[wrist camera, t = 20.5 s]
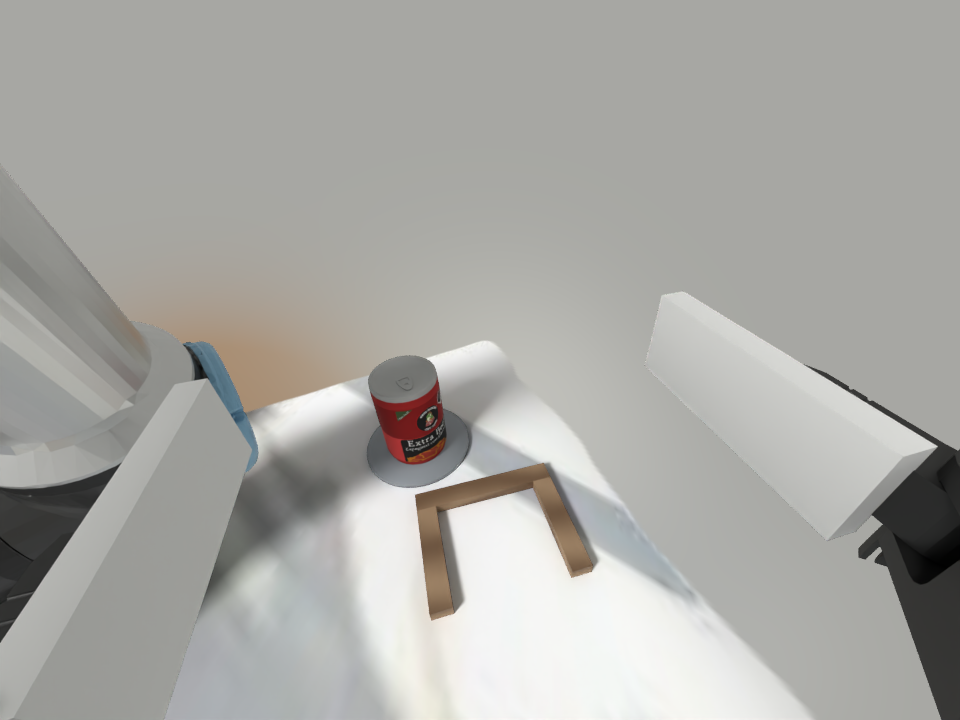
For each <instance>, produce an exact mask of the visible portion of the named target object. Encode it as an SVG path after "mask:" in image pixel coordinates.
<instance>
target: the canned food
mask: <svg viewBox="0 0 960 720" xmlns="http://www.w3.org/2000/svg"><path fill="white" fill-rule="evenodd" d="M368 384H369V389H370V393H371V397H372V400H373V403H374V406H375V409H376V413H377V416H378V419H379V422H380V425H381V428H382V432H383V435H384V438H385V441H386V444H387V447H388V450H389V452H390V453H391V454H392V455H393V457H394V458H396V459H397V460H398V461H400V462H402V463H405V464H411V465H416V464H422V463H425V462H428V461H430V460H432V459H434V458H435V457H436V456H438V455H439V454H440V452H441V451H442V450H443V448H444V445H445V442H446V438H447V432H446V426H445V420H444V414H443V407H442V401H441V395H440V388H439V382H438V377H437V372H436V369H435V367H434V365H433V364H432V363H431V362H430V361H429V360H427V359H425V358H422V357H419V356H410V355H409V356H399V357H395V358H392V359H389V360H386V361H384V362H383V363H381V364H379V365H378V366H377V367H376V368H375V369H374V370H373V371H372V372H371V374H370V376H369V379H368Z"/></svg>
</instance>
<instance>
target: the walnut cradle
mask: <svg viewBox="0 0 960 720" xmlns="http://www.w3.org/2000/svg"><path fill="white" fill-rule="evenodd" d="M530 488H533V489H534V491H535V493H536V496H537V498H538V500H539V503H540V505H541V507H542V510H543V512H544V514H545V517H546V519H547V521H548V524H549V526H550V528H551V531H552V533H553V536H554V538H555V540H556V543H557V545H558V547H559V550H560V552H561V554H562V557H563V559H564V561H565V564H566V566H567V568H568V571H569V573H570V575H571V578H572V577H576V576H579V575H582V574H586V573H589V572H592V568H593V564H592V562H591V560H590V558H589V556H588V554H587V552H586V550H585V548H584V546H583V544H582V542H581V539H580V537H579V535H578V533H577V531H576V529H575V527H574V525H573V523H572V521H571V519H570V517H569V515H568V513H567V510H566V508H565V506H564V504H563V502H562V500H561V498H560V496H559V494H558V492H557V490H556V488H555V486H554V484H553V482H552V479H551V477H550V475H549V473H548V471H547V469H546V467H545V465H544V463H541V464H537V465H533V466H529V467H525V468H521V469H517V470H513V471H509V472H505V473H501V474H497V475H493V476H489V477H485V478H481V479H477V480H473V481H469V482H465V483H461V484H457V485H453V486H449V487H445V488H441V489H437V490H433V491H429V492H425V493H421V494H417V495H415V498H416V506H417V515H418V523H419V531H420V539H421V548H422V556H423V564H424V573H425V581H426V589H427V597H428V606H429V614H430V617H431V620H434V619H438V618H441V617H444V616H447V615H451V614H454V609H453V603H452V597H451V591H450V585H449V579H448V574H447V568H446V562H445V556H444V550H443V544H442V538H441V532H440V526H439V520H438V514H437V512H441V511H445V510H449V509H453V508H456V507H460V506H464V505H468V504H472V503H476V502H480V501H483V500H487V499H491V498H495V497H499V496H503V495H507V494H511V493H514V492H518V491H522V490H526V489H530Z"/></svg>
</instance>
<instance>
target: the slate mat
mask: <svg viewBox="0 0 960 720" xmlns="http://www.w3.org/2000/svg"><path fill="white" fill-rule="evenodd" d="M443 414H444V420H445V426H446V432H447V438H446V442H445V445H444V448H443V450H442V451H441V452H440V454H439V455H438V456H436V457H435V458H434V459H432V460H430V461H428V462H425V463H422V464H416V465H411V464H405V463H402V462H400V461H398V460H397V459H396V458H394V457H393V455H392V454H391V453H390V452H389V450H388V447H387V444H386V441H385V438H384V435H383V432H382V428H381V425H380V426H379V427H378V428H377V430H376V431H375V432H374V434H373V435H372V437H371V439H370V441H369V444H368V449H367V458H368V462H369V465H370V467H371V469H372V471H373V472H374V474H375V475H376V476H377V477H378V478H380V479H381V480H382V481H384V482H386V483H388V484H390V485H393V486H398V487H405V488H414V487H421V486H426V485H430V484H432V483H435V482H437V481H439V480H441V479H443V478H445V477H446V476H448V475H449V474H451V473H452V472H453V471H454V470H455V469H456V468H457V467H458V466H459V465H460V464H461V462H462V461H463V459H464V457H465V456H466V453H467V450H468V446H469V437H468V431H467V428H466V426H465V424H464V423H463V421H462V420H461V419H460V418H459V417H458V416H457V415H455V414H454V413H452V412H450V411H448V410H445V409H443Z"/></svg>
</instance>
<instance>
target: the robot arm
mask: <svg viewBox="0 0 960 720" xmlns="http://www.w3.org/2000/svg"><path fill="white" fill-rule="evenodd" d="M645 366H646V367H647V368H648V369H649V370H650V371H651V372H652V373H653V374H654V375H655V376H656V377H657V378H658V379H659V380H660V381H661V382H662V383H663V384H664V385H665V386H666V387H667V388H668V389H669V390H670V391H671V392H673V393H674V394H675V395H676V396H677V397H678V398H679V399H680V400H681V401H682V402H683V403H684V404H685V405H686V406H687V407H688V408H689V409H690V410H691V411H692V412H693V413H694V414H695V415H696V416H697V417H698V418H700V419H701V420H702V421H703V422H704V423H705V424H706V425H707V426H708V427H709V428H710V429H711V430H712V431H713V432H714V433H715V434H716V435H717V436H718V437H719V438H720V439H721V440H722V441H723V442H724V443H726V444H727V445H728V446H729V447H730V448H731V449H732V450H733V451H734V452H735V453H736V454H737V455H738V456H739V457H740V458H741V459H742V460H743V461H744V462H745V463H746V464H747V465H748V466H749V467H750V468H751V469H753V470H754V471H755V472H756V473H757V474H758V475H759V476H760V477H761V478H762V479H763V480H764V481H765V482H766V483H767V484H768V485H769V486H770V487H771V488H772V489H773V490H774V491H775V492H776V493H777V494H778V495H780V496H781V497H782V498H783V499H784V500H785V501H786V502H787V503H788V504H789V505H790V506H791V507H792V508H793V509H794V510H795V511H796V512H797V513H798V514H799V515H800V516H801V517H802V518H803V519H805V521H807V522H808V523H809V524H810V525H811V526H812V527H813V528H814V529H815V530H816V531H817V532H818V533H819V534H820V535H821V536H822V537H823V538H824V539H825V540H826V541H828V540H831V539H834V538H837V537H841V536H844V535H846V534H850V533H853V532H856V531H857V530H858V529H859V528H860V526H862V524H863V523H864V522H865V521H866V520H867V519H868V518H869V517H870V516H871V515H873V516H874V517H875V518H876V519H877V520H879V521H880V522H881V523H882V524H883V525H882V526H881V527H880V528H879V529H878V530H877V531H875V533H874V534H872V535H871V536H870V537H869V538H868V539H867V540H866V541H865V542H864V543H863V544H862V545H861V546H860V547H859V551H858V553H859V558H862V559H866V558H867V557H868V556H869V555H871V554H872V553H873V552H874V551H875V550H876V549H877V548H878V547H881V549H882V552H881V553H880V554H879V555H878V556H877V557H876V559H875V563H877V564H881V565H884V566H887V567H888V569H889V572H890V575H891V578H892V581H893V584H894V586H895V589H896V592H897V595H898V598H899V601H900V603H901V606H902V609H903V612H904V615H905V618H906V620H907V623H908V626H909V629H910V632H911V635H912V638H913V640H914V643H915V646H916V649H917V652H918V654H919V657H920V660H921V663H922V666H923V669H924V672H925V674H926V677H927V680H928V683H929V686H930V688H931V691H932V694H933V697H934V700H935V703H936V705H937V709H938V711H939V714H940V717H941V720H960V450H959V451H957V450H955V449H954V448H952V447H950V446H948V445H946V444H944V443H943V442H941V441H939V440H938V439H936V438H934V437H933V436H931V435H929V434H928V433H926V432H924V431H922V430H921V429H919V428H917V427H916V426H914V425H912V424H911V423H909V422H907V421H906V420H904V419H902V418H901V417H899V416H897V415H896V414H894V413H892V412H891V411H889V410H887V409H885V408H884V407H882V406H881V405H879V404H877V403H876V402H874V401H868V399H867V397H866V396H864V395H862V394H861V393H859V392H857V391H856V390H854V389H853V390H850V389H849V386H847V385H845V384H844V383H842V382H840V381H839V380H837V379H835V378H834V377H832V376H830V375H829V374H827V373H825V372H822V371H820V370H817V369H814V368H812V367H809V366H807V365H804V364H802V363H800V362H798V361H797V360H795V359H793V358H792V357H790V356H789V355H787V354H785V353H784V352H782V351H780V350H779V349H777V348H775V347H774V346H772V345H770V344H769V343H767V342H766V341H764V340H762V339H761V338H759V337H757V336H756V335H754V334H752V333H751V332H749V331H747V330H746V329H744V328H743V327H741V326H739V325H738V324H736V323H734V322H733V321H731V320H729V319H728V318H726V317H725V316H722V315H721V314H719V313H718V312H716V311H715V310H713V309H711V308H710V307H708V306H707V305H705V304H703V303H702V302H700V301H698V300H697V299H695V298H693V297H692V296H690V295H688V294H687V293H685V292H677V293H672V294H666V295H662V297H661V301H660V305H659V309H658V313H657V317H656V321H655V326H654V329H653V334H652V338H651V342H650V346H649V350H648V354H647V359H646V362H645ZM257 458H258V445H257V442H256V438H255V435H254V432H253V430H252V427H251V425H250V422H249V420H248V417H247V415H246V414H245V412H244V411H243V406H242V404H241V402H240V398H239V396H238V393H237V391H236V389H235V387H234V385H233V382H232V380H231V378H230V376H229V374H228V372H227V370H226V368H225V366H224V364H223V362H222V360H221V359H220V357H219V355H218V353H217V352H216V350H215V349H214V348H213V346H212V345H210V344H209V343H206V342H196V343H191V342H186V343H184V344H182V343H181V342H180V341H179V340H178V339H176V338H175V337H174V336H173V335H172V334H170V333H168V332H167V331H165V330H163V329H161V328H158V327H155V326H152V325H148V324H145V323H140V322H135V321H129V319H128V318H127V317H126V316H125V315H124V313H123V312H122V311H121V310H120V309H119V307H118V306H117V305H116V304H115V302H114V301H113V300H112V299H111V298H110V296H109V295H108V294H107V293H106V292H105V290H104V289H103V288H102V287H101V285H100V284H99V283H98V282H97V281H96V279H95V278H94V277H93V276H92V275H91V273H90V272H89V271H88V270H87V268H86V267H85V266H84V265H83V264H82V262H81V261H80V260H79V259H78V258H77V256H76V255H75V254H74V253H73V251H72V250H71V249H70V248H69V247H68V245H67V244H66V243H65V242H64V241H63V239H62V238H61V237H60V236H59V234H58V233H57V232H56V231H55V230H54V228H53V227H52V226H51V225H50V224H49V222H48V221H47V220H46V219H45V217H44V216H43V215H42V214H41V213H40V212H39V210H38V209H37V208H36V207H35V205H34V204H33V203H32V202H31V201H30V199H29V198H28V197H27V196H26V195H25V193H24V192H23V191H22V190H21V188H20V187H19V186H18V185H17V184H16V182H15V181H14V180H13V179H12V177H11V176H10V175H9V174H8V173H7V171H6V170H5V169H4V168H3V166H2V165H1V164H0V720H164V718H165V715H166V712H167V709H168V706H169V703H170V700H171V697H172V694H173V690H174V687H175V684H176V681H177V678H178V675H179V672H180V669H181V666H182V663H183V660H184V657H185V654H186V651H187V648H188V645H189V642H190V639H191V636H192V632H193V629H194V626H195V623H196V620H197V617H198V614H199V611H200V608H201V605H202V602H203V599H204V596H205V593H206V590H207V587H208V584H209V581H210V578H211V574H212V571H213V568H214V565H215V562H216V559H217V556H218V553H219V550H220V547H221V544H222V541H223V538H224V535H225V532H226V529H227V526H228V523H229V520H230V516H231V513H232V510H233V507H234V504H235V501H236V498H237V495H238V492H239V489H240V486H241V483H242V480H243V477H244V474H245V472H247V471H248V470H250V469H251V468H252V467H253V466H254V464H255V463H256V461H257Z"/></svg>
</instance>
